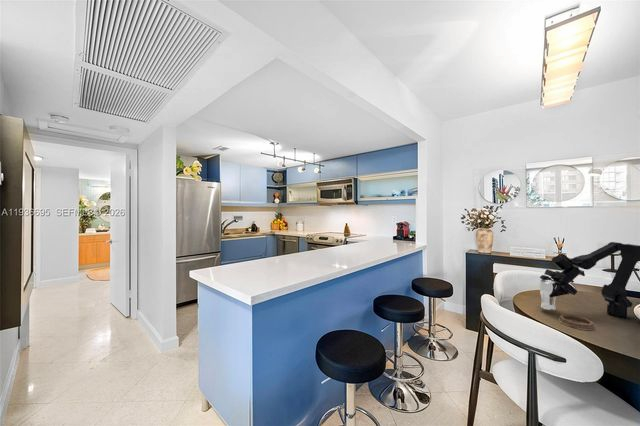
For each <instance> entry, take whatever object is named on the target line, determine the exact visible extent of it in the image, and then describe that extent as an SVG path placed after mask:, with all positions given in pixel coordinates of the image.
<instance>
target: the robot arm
mask: <svg viewBox="0 0 640 426" xmlns="http://www.w3.org/2000/svg"><path fill="white" fill-rule="evenodd" d="M617 252H619V253H620V256H621V261H620V263H619V265H618V266H617V270H616V272H615V274H614V276H613V278H612V281H611V283H609V284H603V286H602V289H601V290H600V291H601V293H600V294H601V296H602V297H603V299H604V301H605V302H608V304H606V313H607V314H608V316H612V317H618V318H621V319H628V308H632V306H633V304H634V303H633V302H632V301H631V300H629V299H628V298H627V297H628V292H627V289H626V287H627V285H628V283H629V280H630V278H631V276H632V273H634V272H633V271H634V269H635V267H636V265H637V263H638V262H640V245H638V244H630V243H622V242H616V241H610V242H609V243H607V244H605V245H603V246H602V247H600V248H598V249H596V250H594V251H592V252H590V253H588V254H581V255H578V256H575V257H573V258H569V257H568V256H567V255H566V254H564V253H561V254H559V255H556V256H553V257H552V258H551V260H550V261H551V262H552V264H554V265H555V266H557V267H558V268H559V269H560V270H562V271H559V270H556V271H553V270H550V269H546V270H545V271H544V274H541V276H539V279H540V280H550V281H554V282H556V289H555V290H554V291H553V292H552V293H551V294H550V297H551V298H552V297H556V298H557V297H561V296H566V295H570V294H571V295H572V296H575V295H576V294H578V290H577V289H576V288H575V287H574V286H573V285H572V284H574V283H575V281H574V280H575V279H577V277H579V276H582V277H585V276H586V274H585V270H587V271H588V270H590V269H593V267H595V266H596V265H597V263H598V262H599V261H601V260H602V259H605V258H607V257H610V256H611V255H613V254H615V253H617ZM570 283H572V284H570Z"/></svg>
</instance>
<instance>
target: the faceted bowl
mask: <svg viewBox="0 0 640 426" xmlns="http://www.w3.org/2000/svg"><path fill="white" fill-rule="evenodd" d="M558 322H559V323H560V324H562V325H563V326H567V327H569V328H572V329H575V328H576V330H580V329H581V331H591V332H592V331H594V330H595V326H594V322H593V321H591V320H590V319H588V318H585V317H581V316H577V315H573V314H559V318H558Z"/></svg>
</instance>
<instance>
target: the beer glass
mask: <svg viewBox="0 0 640 426" xmlns="http://www.w3.org/2000/svg"><path fill="white" fill-rule="evenodd" d="M539 282H540V283H539V293H540V298H541V304H540V307H541V308H542V309H543V310H547V311H556V310H557V308H556V303H555V302H556V299H557V296H556V297H552V298H551V297H550V294H551V293H552V292H553V291H554V290H555V289H556V286H557V285H556V282H554V281H550V280H542V279H540V281H539ZM541 308H540V309H541Z"/></svg>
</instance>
